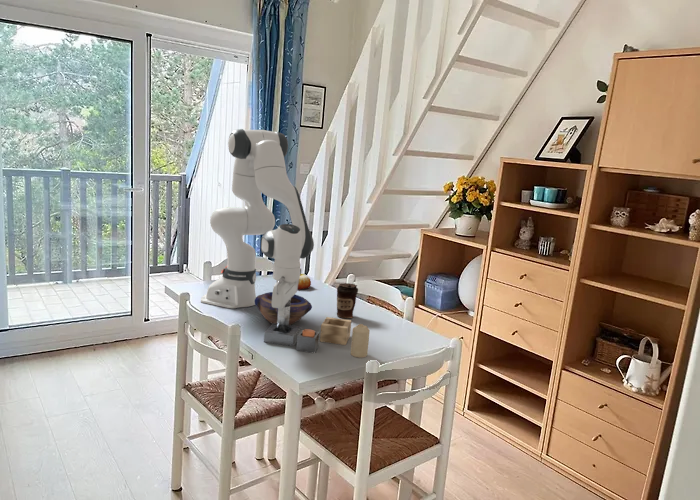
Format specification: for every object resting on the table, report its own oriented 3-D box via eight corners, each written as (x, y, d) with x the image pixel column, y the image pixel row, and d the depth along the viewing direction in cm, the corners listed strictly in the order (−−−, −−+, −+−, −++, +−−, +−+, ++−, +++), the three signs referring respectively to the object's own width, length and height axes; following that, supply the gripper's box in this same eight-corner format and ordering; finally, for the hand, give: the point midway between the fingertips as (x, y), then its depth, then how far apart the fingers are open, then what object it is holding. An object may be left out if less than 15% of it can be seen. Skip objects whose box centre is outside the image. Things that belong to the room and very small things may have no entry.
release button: (300, 345, 173) (301, 332, 172) (303, 341, 177) (304, 328, 176) (312, 347, 172) (313, 334, 171) (315, 342, 176) (316, 330, 175)
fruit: (285, 288, 242) (286, 271, 243) (287, 289, 252) (288, 272, 253) (310, 290, 242) (311, 272, 243) (311, 290, 252) (311, 273, 253)
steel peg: (274, 332, 179) (276, 301, 177) (278, 328, 183) (280, 298, 181) (286, 334, 179) (288, 303, 176) (289, 330, 183) (292, 299, 180)
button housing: (296, 350, 172) (297, 335, 171) (301, 343, 178) (302, 329, 177) (314, 352, 171) (315, 338, 170) (318, 346, 177) (319, 332, 176)
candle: (349, 350, 176) (352, 322, 174) (366, 351, 176) (369, 323, 174) (351, 357, 170) (353, 327, 168) (368, 358, 171) (371, 328, 169)
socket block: (263, 341, 177) (264, 332, 176) (272, 332, 187) (273, 322, 186) (292, 346, 175) (293, 336, 175) (300, 336, 185) (301, 326, 184)
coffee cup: (353, 321, 206) (356, 289, 203) (332, 318, 207) (335, 286, 205) (357, 314, 214) (360, 283, 212) (337, 311, 216) (340, 281, 213)
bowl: (316, 324, 198) (318, 299, 196) (277, 333, 186) (279, 306, 184) (287, 311, 211) (288, 287, 209) (248, 319, 198) (250, 293, 196)
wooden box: (319, 341, 182) (321, 324, 180) (325, 332, 190) (326, 317, 189) (345, 345, 180) (347, 328, 179) (350, 336, 189) (351, 320, 188)
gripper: (287, 282, 166) (284, 324, 169) (302, 268, 186) (299, 305, 189) (268, 280, 167) (265, 321, 170) (285, 265, 187) (282, 303, 190)
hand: (283, 312), depth 180 cm, fingers closed on steel peg, 4 cm apart
